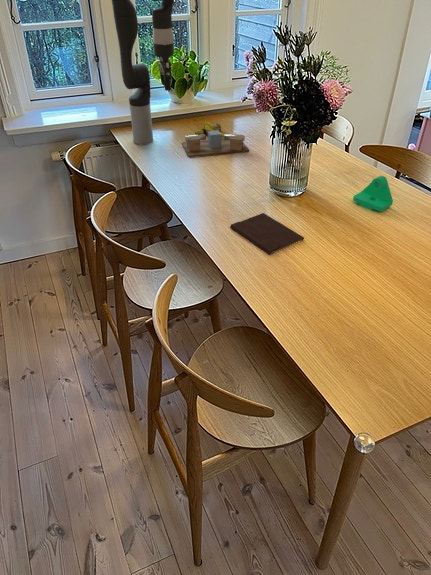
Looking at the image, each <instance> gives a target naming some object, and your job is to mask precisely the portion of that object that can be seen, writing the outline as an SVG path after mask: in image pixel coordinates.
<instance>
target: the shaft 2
mask: <svg viewBox="0 0 431 575" xmlns="http://www.w3.org/2000/svg"><path fill="white" fill-rule="evenodd" d="M223 135H224V140H230V138H231V137H235V138H242V141H243V142H245V139H246V135H244V134H239V135H232V134H229V133H228V134H227V133H225V134H223Z"/></svg>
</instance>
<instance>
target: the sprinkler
mask: <svg viewBox="0 0 431 575" xmlns="http://www.w3.org/2000/svg"><path fill="white" fill-rule="evenodd" d="M215 124H216V125H212V123H210V121H209V120H208V119H206V120H204V125H203V128H201V129H198V130H196V131H195V132H194V134H198V135H202V134H205V135H206V136H207V135H208V131H218V130H219V132H220V133H221V139H224V135H225V134H224V133H222V132H221V131H222V125H221V124H220V123H218V122H217V123H215Z"/></svg>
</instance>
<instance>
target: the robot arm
mask: <svg viewBox="0 0 431 575" xmlns="http://www.w3.org/2000/svg"><path fill="white" fill-rule="evenodd" d="M152 1H153V2H160V1H161V4H160V6H158V7H157V8H154V9H153V10H152V12H151V17H152V19H151V20H152V43H153V44H152V45H153V55H154V57H158V70H159V74H160V84H161V85H163V86H164V90H165V91H172V88H171V87H172V85H171V80H172V78H173V76H172V63H171V61H170V59H169V58H170V57H173V56H174V54H175V49H174V48H175V47H174V46H175V45H174V44H175V43H174V31H173V23H172V22H173V21H172V19H173V18H172V17H173V16H172V14H173V9H174V8H173V7H174V2H175V0H151V2H152ZM111 5H112V13H113V17H114V18H113V19H114V25H115V26H114V27H115V31H116V35H117V41H118V47H119V57H120V67H121V68H120V69H121V76H122V81H123V84H124V86H125V88H126V89H127V90H135V89H137V90H136V91H135V92H134V93H132V94H131V95H130V96H129V98H128V103H129V111H130V121H131V128H132V137H133V143H134V144H136V145H142V146H143V145H149V144H152V143H153V142H154V138H153V137H154V134H153V123H152V122H153V120H152V112H151V111H152V110H151V77H150V72H149V68H148V67H147V66H146V64H145V63H137V64H133V59H132V53H133V48H134V46H135V43H136V40H137V37H138V33H139V23H138V14H137V9H136V7H135V6H134V4H133V2H132V1H131V0H111Z"/></svg>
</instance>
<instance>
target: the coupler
mask: <svg viewBox="0 0 431 575" xmlns="http://www.w3.org/2000/svg"><path fill="white" fill-rule="evenodd" d="M220 132H221V131H219V130H218V131H208V133H207V140H208V145H209V146H210V148H219V147H221V133H222V132H221V133H220Z"/></svg>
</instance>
